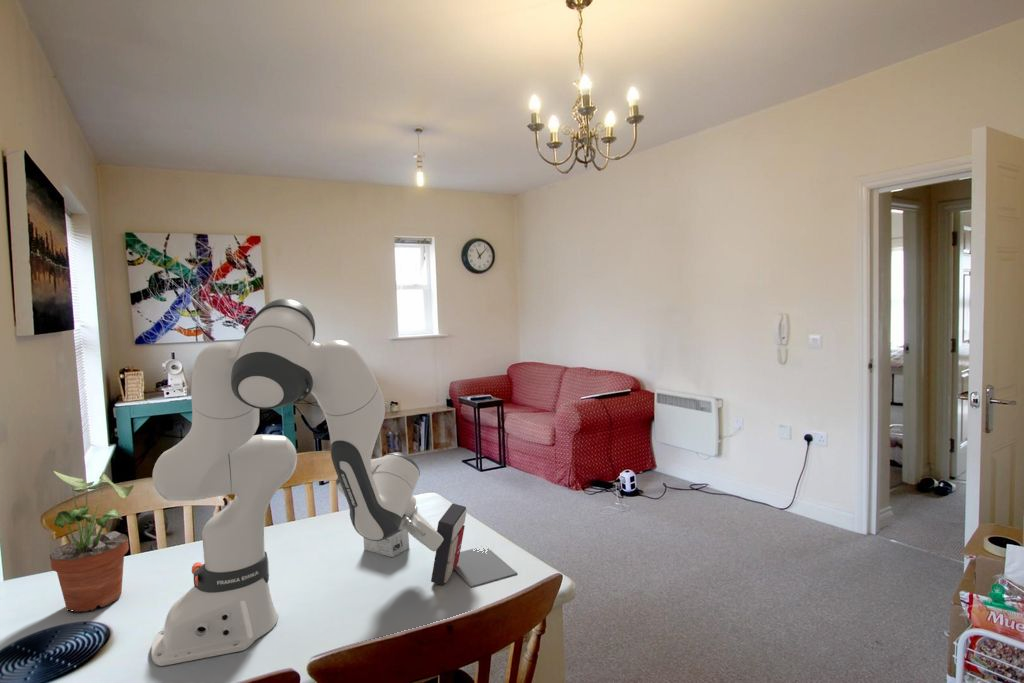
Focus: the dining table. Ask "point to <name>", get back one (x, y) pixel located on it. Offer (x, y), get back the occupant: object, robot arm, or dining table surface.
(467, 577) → the mat
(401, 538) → the light bulb box
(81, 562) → the potted plant
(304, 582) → the dining table surface
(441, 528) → the dark grey lidded case
